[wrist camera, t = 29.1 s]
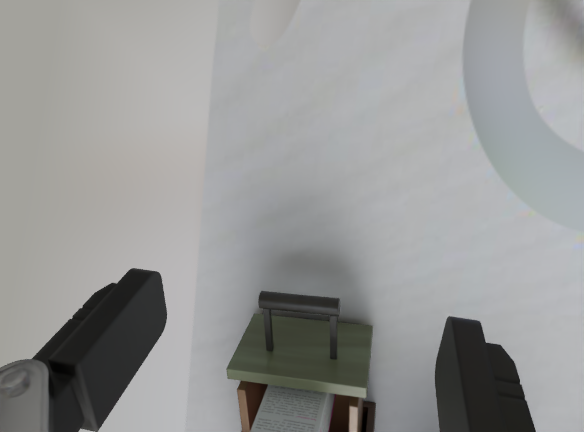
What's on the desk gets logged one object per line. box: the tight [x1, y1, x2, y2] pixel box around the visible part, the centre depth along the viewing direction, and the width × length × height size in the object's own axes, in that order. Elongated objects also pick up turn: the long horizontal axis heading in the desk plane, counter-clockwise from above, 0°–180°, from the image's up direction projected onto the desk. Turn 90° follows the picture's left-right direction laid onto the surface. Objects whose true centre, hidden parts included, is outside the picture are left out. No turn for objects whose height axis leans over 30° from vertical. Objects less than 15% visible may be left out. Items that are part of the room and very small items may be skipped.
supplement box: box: [250, 384, 336, 432], centre depth 41 cm, size 6×6×12 cm
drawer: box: [227, 291, 373, 432], centre depth 43 cm, size 22×12×8 cm, turn 2°
